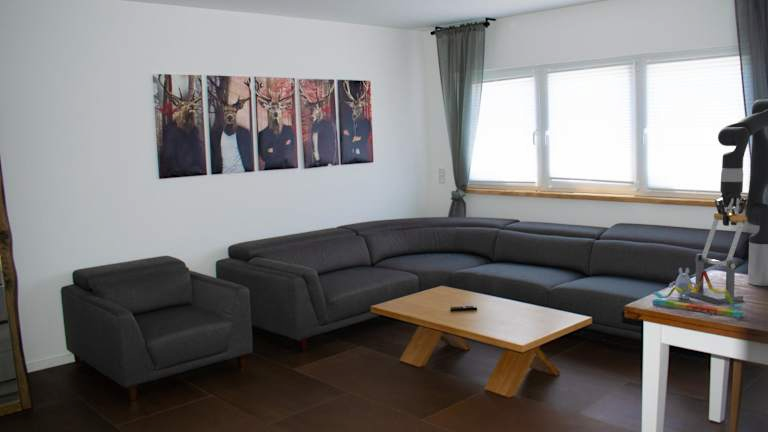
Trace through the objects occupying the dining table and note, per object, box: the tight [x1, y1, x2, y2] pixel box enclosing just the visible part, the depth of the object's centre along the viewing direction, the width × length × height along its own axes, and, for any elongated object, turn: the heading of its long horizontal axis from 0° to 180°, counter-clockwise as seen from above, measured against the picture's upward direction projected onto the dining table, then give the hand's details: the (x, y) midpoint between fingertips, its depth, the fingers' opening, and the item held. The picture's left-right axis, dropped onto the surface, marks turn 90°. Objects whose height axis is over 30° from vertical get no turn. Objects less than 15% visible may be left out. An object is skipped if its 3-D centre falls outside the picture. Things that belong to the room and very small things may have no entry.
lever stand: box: [687, 253, 744, 305], centre depth 262 cm, size 12×18×16 cm
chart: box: [652, 269, 744, 319], centre depth 246 cm, size 30×3×15 cm, turn 45°
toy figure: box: [668, 267, 698, 300], centre depth 263 cm, size 11×6×12 cm, turn 63°
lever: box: [700, 211, 748, 268], centre depth 261 cm, size 3×13×20 cm, turn 20°
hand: (729, 225), depth 261 cm, fingers closed on lever, 3 cm apart
